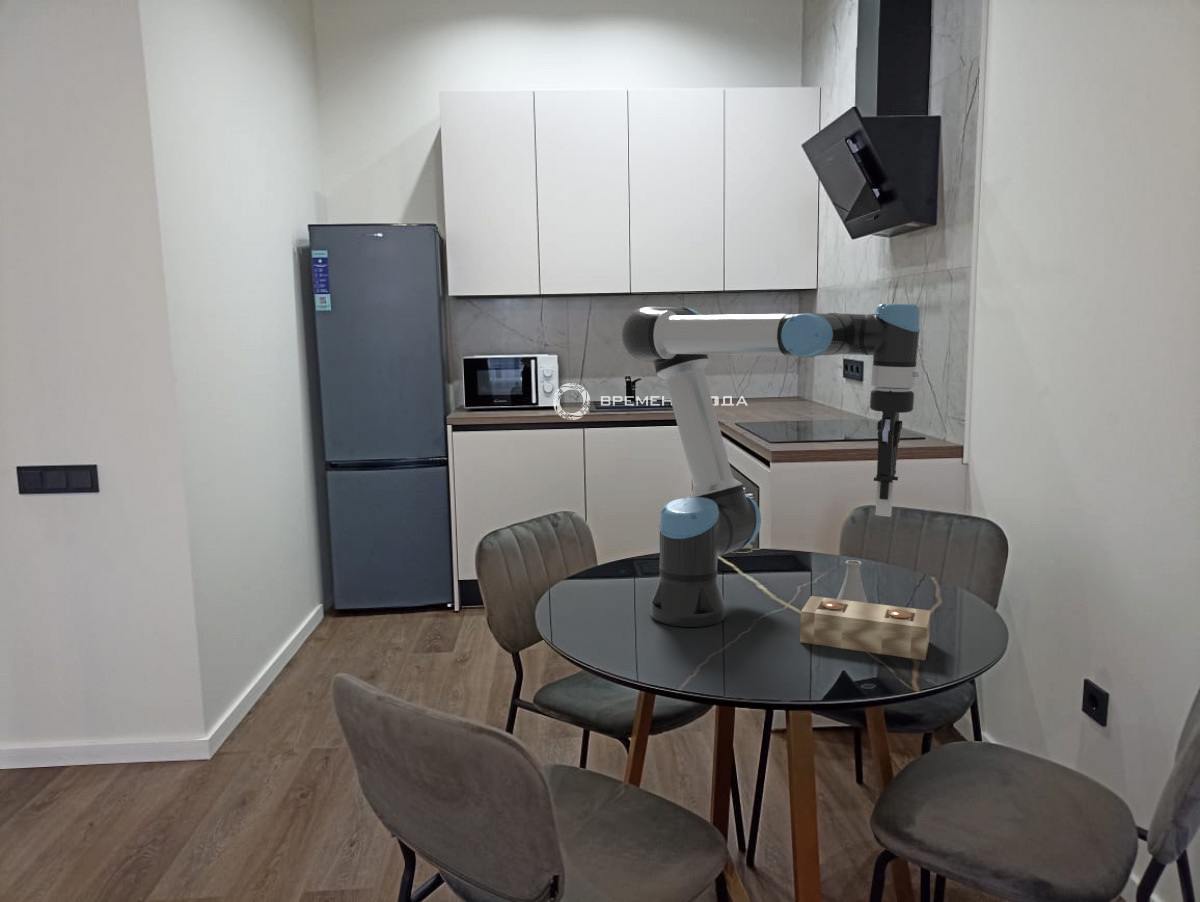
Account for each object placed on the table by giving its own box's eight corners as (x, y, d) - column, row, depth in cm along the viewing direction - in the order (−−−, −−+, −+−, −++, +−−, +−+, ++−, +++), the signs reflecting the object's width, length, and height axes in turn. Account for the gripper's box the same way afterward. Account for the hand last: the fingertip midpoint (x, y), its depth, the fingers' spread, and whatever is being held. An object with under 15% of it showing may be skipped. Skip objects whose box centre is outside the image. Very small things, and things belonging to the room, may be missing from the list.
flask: (871, 615, 177) (873, 567, 176) (834, 612, 179) (836, 565, 177) (868, 604, 184) (870, 558, 183) (832, 601, 186) (834, 556, 184)
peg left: (819, 635, 164) (820, 606, 163) (823, 629, 167) (824, 600, 166) (841, 638, 162) (842, 609, 161) (844, 632, 166) (845, 602, 165)
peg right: (885, 645, 159) (887, 614, 158) (888, 638, 162) (889, 608, 161) (908, 648, 157) (910, 617, 156) (910, 641, 161) (912, 611, 160)
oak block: (800, 642, 162) (801, 611, 161) (810, 625, 171) (811, 595, 170) (925, 660, 153) (927, 627, 152) (928, 641, 162) (930, 610, 161)
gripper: (910, 393, 151) (900, 525, 155) (917, 387, 163) (908, 510, 166) (866, 390, 154) (857, 520, 158) (876, 385, 166) (867, 506, 170)
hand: (883, 515), depth 162 cm, fingers closed
